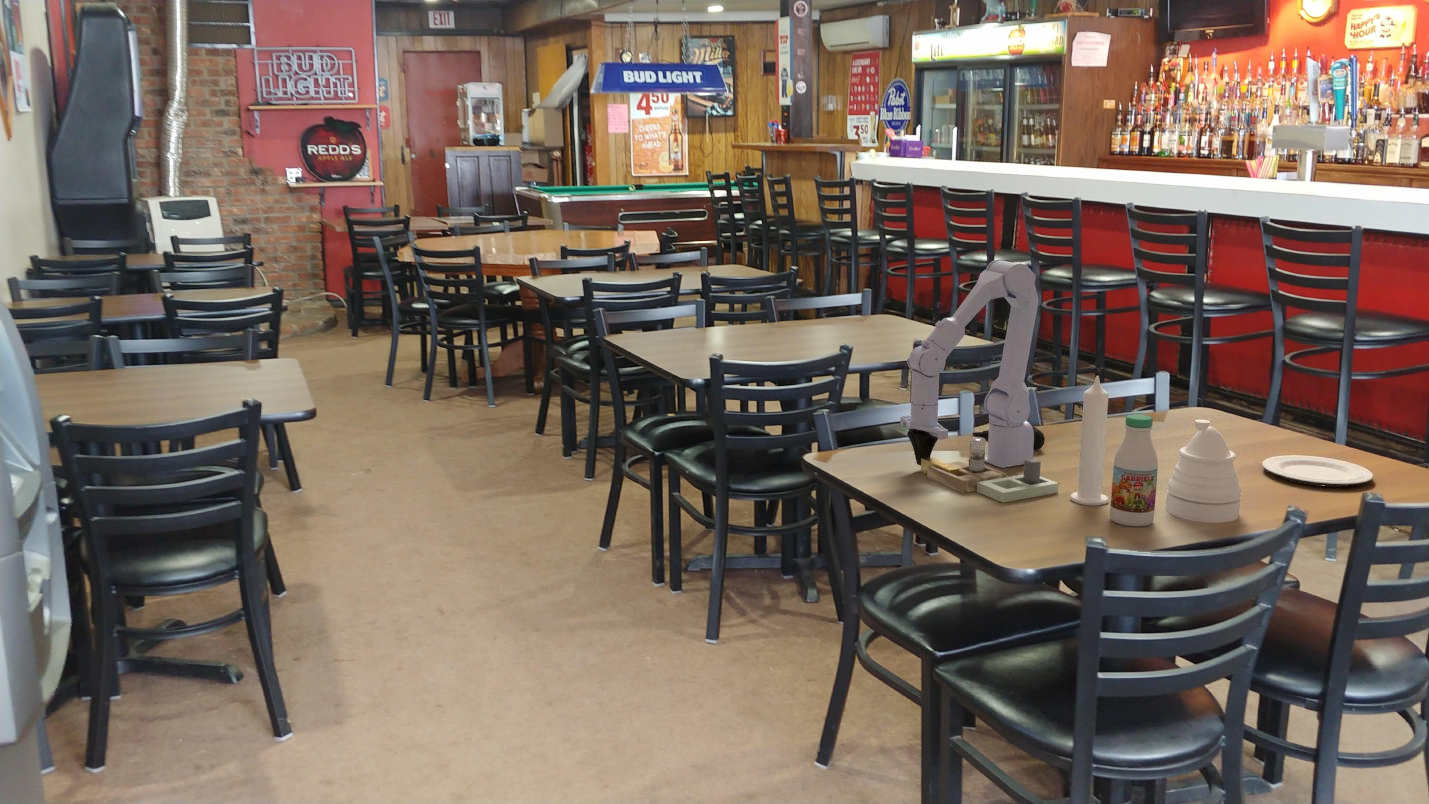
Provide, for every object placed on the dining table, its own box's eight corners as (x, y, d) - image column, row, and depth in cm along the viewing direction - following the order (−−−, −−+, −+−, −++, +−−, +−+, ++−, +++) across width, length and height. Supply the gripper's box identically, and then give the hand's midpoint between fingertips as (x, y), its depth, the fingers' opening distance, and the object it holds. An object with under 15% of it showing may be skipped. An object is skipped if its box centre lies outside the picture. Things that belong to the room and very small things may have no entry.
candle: (1089, 507, 220) (1097, 380, 215) (1062, 497, 226) (1070, 374, 221) (1115, 502, 223) (1125, 377, 218) (1088, 492, 229) (1097, 370, 224)
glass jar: (977, 477, 240) (979, 436, 238) (986, 481, 237) (988, 440, 235) (964, 479, 239) (966, 438, 237) (974, 483, 236) (976, 441, 234)
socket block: (969, 470, 245) (970, 459, 245) (1006, 485, 235) (1007, 473, 234) (927, 477, 240) (927, 466, 240) (963, 492, 230) (963, 481, 229)
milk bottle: (1102, 514, 216) (1110, 412, 211) (1142, 513, 217) (1150, 411, 212) (1120, 528, 208) (1128, 422, 204) (1160, 526, 209) (1169, 421, 205)
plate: (1384, 475, 240) (1385, 467, 240) (1356, 498, 225) (1358, 489, 225) (1279, 457, 254) (1279, 449, 254) (1246, 478, 239) (1247, 469, 239)
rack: (1030, 482, 237) (1032, 454, 235) (1058, 492, 230) (1059, 463, 228) (976, 491, 231) (978, 462, 229) (1002, 502, 224) (1004, 473, 222)
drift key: (929, 470, 246) (930, 456, 245) (958, 482, 237) (959, 468, 236) (920, 471, 245) (921, 458, 244) (949, 484, 236) (950, 470, 235)
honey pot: (1202, 526, 209) (1211, 431, 205) (1150, 506, 221) (1158, 416, 217) (1254, 517, 214) (1263, 424, 210) (1200, 497, 226) (1209, 409, 222)
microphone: (969, 449, 274) (1038, 457, 258) (963, 428, 272) (1032, 434, 256) (983, 439, 277) (1052, 445, 261) (977, 418, 275) (1046, 423, 259)
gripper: (889, 398, 248) (887, 458, 251) (929, 411, 235) (927, 475, 238) (916, 394, 251) (914, 454, 254) (957, 408, 238) (954, 470, 241)
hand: (922, 464), depth 246 cm, fingers closed
